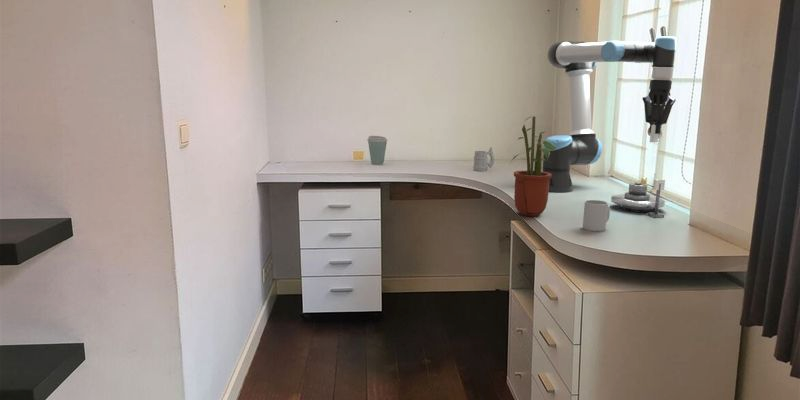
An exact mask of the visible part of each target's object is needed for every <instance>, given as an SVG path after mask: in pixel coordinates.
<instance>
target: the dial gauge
mask: <svg viewBox="0 0 800 400" xmlns="http://www.w3.org/2000/svg"><path fill="white" fill-rule="evenodd" d="M665 183H666V180H665V179H658V178H657V179H653V182H652V185H651V187H652V190H653V191H656V193H655V194H656V195H655V197H656V202H655V208H654V212H653V211H650V212H647V216H649V217H651V218H655V219H656V218H665V214H664V213H661V212H659V208H658V207H659V198H660V196H661V191H665ZM660 199H661V198H660Z"/></svg>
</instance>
